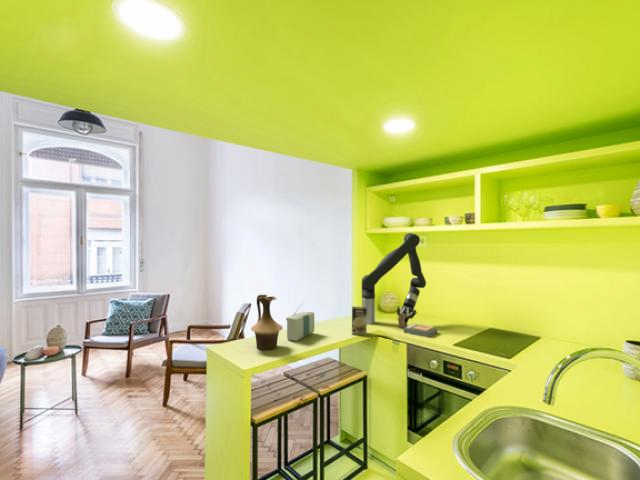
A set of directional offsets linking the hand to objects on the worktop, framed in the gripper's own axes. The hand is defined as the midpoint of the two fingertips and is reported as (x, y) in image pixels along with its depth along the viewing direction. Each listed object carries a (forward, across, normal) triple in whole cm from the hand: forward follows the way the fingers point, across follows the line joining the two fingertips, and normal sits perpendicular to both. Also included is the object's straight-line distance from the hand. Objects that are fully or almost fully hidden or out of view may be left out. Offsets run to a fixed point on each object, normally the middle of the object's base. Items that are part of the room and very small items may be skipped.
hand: (402, 321), depth 210 cm
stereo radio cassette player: (+45, -35, -39) cm, 69 cm away
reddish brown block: (+2, 0, +4) cm, 4 cm away
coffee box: (+24, -13, -18) cm, 33 cm away
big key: (+3, +16, 0) cm, 16 cm away
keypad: (+5, +14, +1) cm, 15 cm away
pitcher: (+63, -34, -57) cm, 92 cm away
